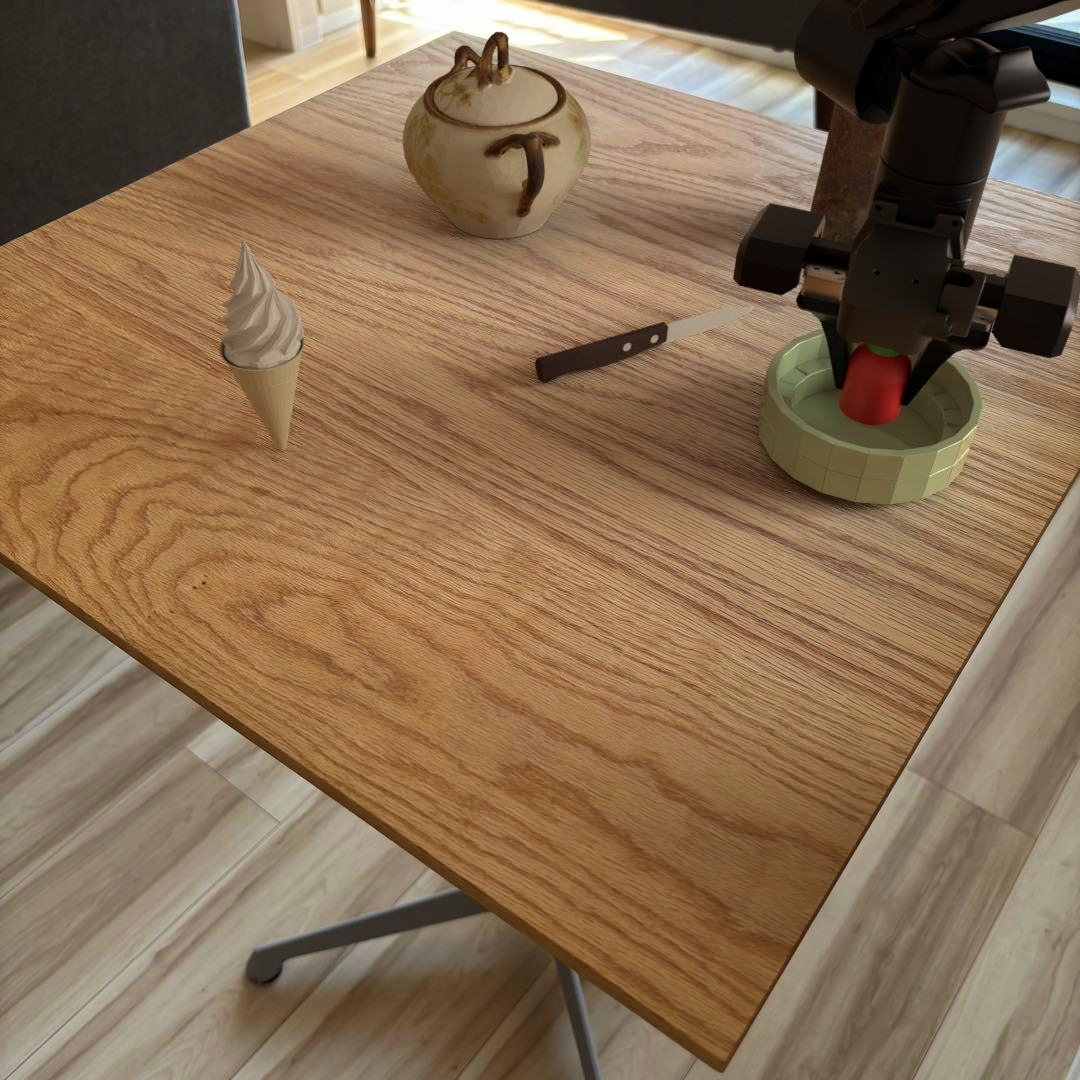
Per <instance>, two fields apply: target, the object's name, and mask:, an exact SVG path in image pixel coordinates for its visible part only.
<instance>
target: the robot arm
mask: <svg viewBox="0 0 1080 1080" xmlns="http://www.w3.org/2000/svg"><path fill="white" fill-rule="evenodd" d="M1078 10H1080V0H819V1H818V2H817V3H816V5H814V7H813V8H812V9H811V10H810V12H809V14H808V15H807V17H806V18H805V20H804V22H803V23H802V26H801V29H800V30H799V31H798V32H797V33H796V35H795V39H794V45H793V61H794V66H795V69H796V71H797V73H798V75H799V77H800V78H802V79H803V80H804V81H805V82H806V83H807V84H809V85H810V86H812V87H813V88H814V89H816V90H817V91H819V92H820V93H822V94H823V95H824V96H826V97H827V98H829V99H830V100H832V101H833V102H834V103H835V102H836V103H838V104H839V105H840V106H842V107H843V108H845V109H846V110H848V111H849V112H850V113H852V114H853V115H855V116H856V117H858V118H859V119H861V120H862V121H865V122H867V123H869V124H883V123H887V122H888V124H887V128H886V132H885V137H884V141H883V145H882V150H881V154H880V158H879V162H878V166H877V171H876V175H875V179H874V184H873V188H872V192H871V196H870V201H869V205H868V209H867V214H866V218H865V221H864V223H863V224H862V226H861V227H860V229H859V230H858V232H857V234H856V236H855V238H854V241H853V244H848V243H844V242H839V241H834V240H830V239H825V238H822V236H823V231H824V226H825V215H824V214H820V213H815V212H810V211H809V210H805V209H800V208H795V207H791V206H785V205H782V204H777V203H772V202H769V203H768V204H767V205H765V206H764V207H763V208H761V209H760V210H759V211H758V212H757V213H756V215H755V216H754V219H753V220H752V222H751V224H750V225H749V226H748V229H747V231H746V232H745V233H744V235H743V237H742V238H741V240H740V243H739V246H738V249H737V252H736V255H735V262H734V269H733V276H732V280H733V281H734V282H735V283H736V284H737V285H738V286H739V287H742V288H746V289H752V290H755V291H760V292H765V293H768V294H773V295H776V296H781V297H782V296H784V295H786V294H787V293H788V292H791V291H792V290H795V289H796V288H797V287H798V286H799V284H800V281H801V275H802V278H803V281H802V286H801V288H800V289H799V292H798V294H797V295H796V298H795V303H796V307H797V308H798V309H799V310H801V311H805V312H809V313H811V314H812V315H813V316H814V317H815V318H817V319H818V320H819V323H820V325H821V328H822V329H823V331H824V334H825V337H826V340H827V345H828V350H829V355H830V361H831V366H832V372H833V377H834V383H835V388H836V389H840V390H842V387H843V383H844V379H845V375H846V371H847V366H848V362H849V359H850V356H851V355H852V352H853V345H854V343H861V342H862V343H867V344H871V345H875V346H879V347H883V348H888V349H891V350H893V351H894V352H895V353H899V354H903V355H913V354H917V353H919V352H920V354H919V356H918V358H917V360H916V362H915V365H914V367H913V369H912V371H911V375H910V378H909V381H908V383H907V386H906V388H905V391H904V395H903V398H902V402H901V405H903V406H908V405H909V403H910V402H911V401H912V400H913V399H914V397H915V396H916V395H917V394H918V392H919V391H920V390H921V389H922V388H923V386H924V385H925V384H926V383H927V381H928V380H929V379H930V378H931V377H932V375H933V374H934V373H935V372H936V371H937V369H938V368H939V367H940V366H941V365H942V364H943V363H944V362H945V361H947V360H948V359H949V358H950V357H951V358H952V357H953V355H955V354H956V353H958V352H961V351H965V350H970V351H974V352H981V351H983V350H985V349H986V348H987V346H988V344H989V341H990V338H991V334H992V335H993V337H994V338H995V340H996V341H997V343H998V344H999V345H1000V347H1001V348H1003V349H1007V350H1013V351H1015V352H1016V351H1017V352H1021V353H1024V354H1029V355H1032V356H1033V355H1034V356H1038V357H1042V358H1047V359H1052V358H1057V357H1061V356H1062V355H1063V352H1064V350H1065V346H1067V342H1068V340H1069V337H1070V335H1071V332H1072V331H1073V330H1072V329H1073V327H1074V323H1075V321H1076V317H1077V312H1078V307H1079V301H1080V273H1079V271H1078V269H1077V268H1076V267H1075V266H1071V265H1066V264H1060V263H1056V262H1051V261H1046V260H1041V259H1037V258H1032V257H1028V256H1023V255H1018V254H1014V255H1013V256H1012V258H1011V261H1010V264H1009V267H1008V269H1007V271H1004V270H1001V269H1000V270H999V269H995V268H992V267H986V266H981V265H978V264H977V265H976V264H973V263H972V264H971V263H970V264H969V263H968V264H966V261H965V260H964V259H965V253H966V250H967V245H968V244H969V239H970V237H971V233H972V230H973V227H974V224H975V220H976V217H977V214H978V211H979V207H980V204H981V201H982V197H983V195H984V191H985V188H986V185H987V181H988V178H989V175H990V172H991V169H992V168H991V167H992V165H993V161H994V158H995V155H996V152H997V149H998V145H999V143H1000V139H1001V136H1002V133H1003V130H1004V126H1005V123H1006V120H1007V116H1008V113H1009V111H1014V110H1019V109H1023V108H1028V107H1034V106H1037V105H1043V104H1046V103H1047V102H1048V101H1049V100H1050V98H1051V95H1052V92H1051V88H1050V86H1049V83H1048V80H1047V79H1046V77H1045V75H1044V74H1043V73H1042V71H1041V70H1040V69H1039V68H1038V66H1037V65H1036V63H1035V60H1034V56H1033V51H1032V48H1031V47H1030V46H1022V47H1016V48H1010V49H1005V50H1000V49H998V48H996V47H994V46H992V45H991V44H988V43H987V42H985V41H983V40H981V39H979V38H975V37H969V36H975V35H979V34H985V33H990V32H996V31H1000V30H1007V29H1012V28H1017V27H1018V28H1019V27H1023V26H1027V25H1033V24H1038V23H1042V22H1045V21H1048V20H1051V19H1054V18H1057V17H1059V16H1062V15H1065V14H1069V13H1071V12H1075V11H1078ZM953 38H955V39H954V40H950V39H953ZM802 270H803V271H802Z"/></svg>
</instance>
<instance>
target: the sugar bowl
mask: <svg viewBox="0 0 1080 1080" xmlns="http://www.w3.org/2000/svg"><path fill="white" fill-rule="evenodd" d="M509 39H510V38H509V35H508V34H506V33H505V32H504V31H495V32H493V34H491V35H490V36H489V38H488V39H487V40H486V42H485V44H484V47H483V50H482V53H481V55H479V54H478V53H477V52H476V51H475V50H474V49H472V47H470V46H469V45H467V44H465V45H464V44H463V45H460V46H459V47H457V49H455V52H454V56H453V57H454V59H453V61H454V64H453V66H452V67H451V68H450V70H449V71H448V72H447V73H445V74H443V75H441V76H440V77H437V78H436V79H435V80H433V81H432V82H431V83H430V84H429V85H428V86H427V87H426V89H425V91H424V93H423V94H421V96H420V97H419V98H418V99H417V101H415V103H414V104H413V105H412V107H411V109H410V112H409V113H408V115H407V117H406V119H405V122H404V127H403V131H402V149H403V156H404V159H405V162H406V165H407V169H408V170H409V172H410V174H411V175H412V177H413V179H414V180H415V182H416V183H417V186H419V188H421V190H422V191H423V192H424V193H425V194H426V196H427V197H428V198H429V199H430V200H431V201H432V202H433V203H434V205H436V206H437V208H438V209H440V210H441V212H443V213H444V214H445V216H446V217H447V218H448V219H449V220H450V222H451V223H452V224H453V225H454V226H456V228H458V229H459V230H461V231H462V232H465V233H466V234H468V235H472V236H476V237H479V238H486V239H494V240H499V239H513V238H519V237H523V236H527V235H529V234H532V233H534V232H536V231H538V230H540V229H541V228H542V227H543V226H544V225H545V224H546V222H547V221H548V219H549V218H550V217H551V215H552V214H553V212H554V211H556V209H557V208H558V207H559V206H560V205H561V204H562V203H563V201H564V200H565V199H566V198H567V197H568V195H569V194H570V193H571V191H573V189H574V187H575V186H576V185H577V183H578V182H579V180H580V178H581V177H582V175H583V172H584V170H585V168H586V166H587V164H588V162H589V161H588V160H589V156H590V153H591V147H592V142H591V141H592V139H591V130H590V126H589V121H588V118H587V116H586V114H585V112H584V109H583V108H582V106H581V104H580V103H579V102H578V100H577V99H576V98H575V97H574V96H573V95H572V94H571V92H569V91H568V90H567V89H566V88H565V87H564V86H563V84H562V83H561V82H560V81H559V80H558V79H556V78H555V77H553V76H552V75H550V74H548V73H547V72H544V71H542V70H539V69H536V68H533V67H529V66H524V65H518V64H510V57H509V55H510V53H509V52H510V51H509V47H510V46H509ZM495 51H496V53H497V54H496V56H497V61H496V62H497V63H496V64H494V63H493V58H494V53H495ZM469 62H471V63H472V64H473V66H469Z"/></svg>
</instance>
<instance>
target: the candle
mask: <svg viewBox="0 0 1080 1080" xmlns="http://www.w3.org/2000/svg"><path fill="white" fill-rule="evenodd" d="M955 39H956V38H953V39H950V40H955ZM887 124H888V122H887V123H883V124H869V123H867V122H865V121H862V120H861V119H859V118H858V117H856V116H855V115H853V114H852V113H850V112H849V111H848V110H846V109H845V108H843V107H842V106H840V105H839V104H838V103H836V102H835V101H834V107H833V110H832V116H831V120H830V124H829V128H828V133H827V138H826V142H825V146H824V150H823V155H822V159H821V163H820V167H819V172H818V177H817V180H816V183H815V184H816V185H815V189H814V192H813V197H812V202H811V205H810V212H815V213H820V214H824V215H825V226H824V231H823V236H822V238H825V239H830V240H834V241H839V242H844V243H848V244H853V241H854V238H855V236H856V234H857V232H858V230H859V229H860V227H861V226H862V224H863V223H864V221H865V218H866V214H867V209H868V205H869V201H870V196H871V192H872V188H873V184H874V179H875V175H876V171H877V166H878V162H879V158H880V154H881V150H882V145H883V141H884V137H885V132H886V128H887Z"/></svg>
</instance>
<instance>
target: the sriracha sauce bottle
mask: <svg viewBox="0 0 1080 1080" xmlns="http://www.w3.org/2000/svg"><path fill="white" fill-rule="evenodd" d="M911 369H912V365H911V359H910V356H909V355H903V354H899V353H895V352H894V351H893V350H891V349H888V348H883V347H879V346H875V345H871V344H867V343H861V344H860V345H859V346H858V347H857V348H856V349H855V350H854V351H853V353H852V355H851V356H850V359H849V362H848V366H847V371H846V375H845V379H844V383H843V387H842V390H841V394H840V398H839V406H840V409H841V411H842V412H843V413H844V414H845V415H846V416H847V417H849V418H850V419H852V420H854V421H856V422H859V423H862V424H867V425H884V424H887V423H890V422H892V421H894V420H895V419H896V418H897V417H898V415H899V412H900V409H901V406H902V405H901V402H902V398H903V395H904V391H905V388H906V386H907V383H908V381H909V378H910V375H911Z"/></svg>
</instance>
